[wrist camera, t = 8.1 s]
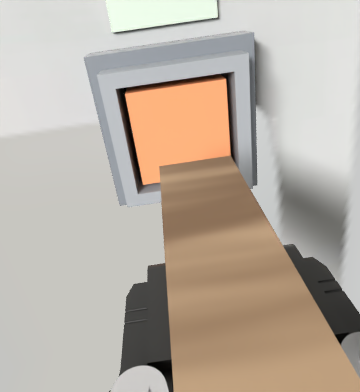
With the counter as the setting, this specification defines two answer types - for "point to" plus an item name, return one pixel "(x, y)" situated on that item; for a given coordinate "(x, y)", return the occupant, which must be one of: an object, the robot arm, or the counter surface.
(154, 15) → the sage mat
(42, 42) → the counter surface
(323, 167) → the counter surface
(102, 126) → the grey open square box
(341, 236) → the counter surface
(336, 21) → the counter surface
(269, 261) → the walnut block
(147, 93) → the button
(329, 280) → the robot arm
